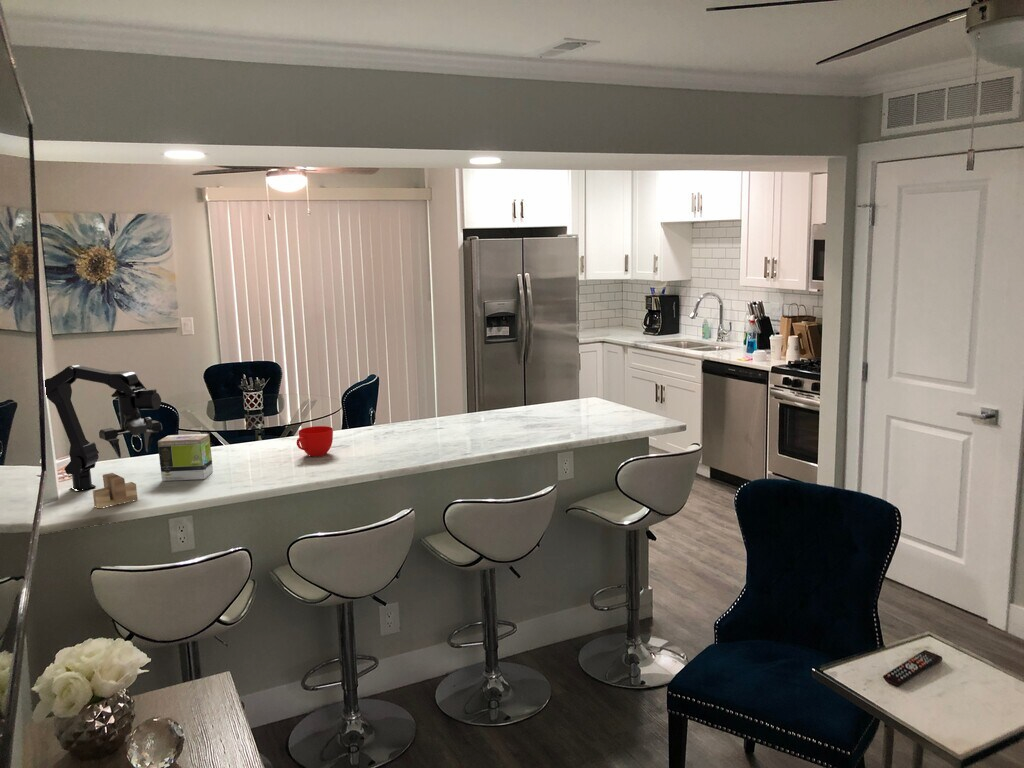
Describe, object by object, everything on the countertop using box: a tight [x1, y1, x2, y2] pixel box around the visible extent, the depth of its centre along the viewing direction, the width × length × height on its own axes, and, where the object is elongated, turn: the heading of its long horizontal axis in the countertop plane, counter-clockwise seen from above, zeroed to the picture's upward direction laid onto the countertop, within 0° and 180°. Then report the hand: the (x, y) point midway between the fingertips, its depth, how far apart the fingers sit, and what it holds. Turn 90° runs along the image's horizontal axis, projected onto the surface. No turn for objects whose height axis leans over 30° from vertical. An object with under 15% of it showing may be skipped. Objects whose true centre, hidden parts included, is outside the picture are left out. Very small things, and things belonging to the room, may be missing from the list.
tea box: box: [157, 433, 214, 482], centre depth 286 cm, size 15×10×15 cm
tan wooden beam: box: [102, 472, 127, 502], centre depth 257 cm, size 10×3×7 cm, turn 46°
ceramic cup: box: [296, 425, 334, 457], centre depth 311 cm, size 13×17×10 cm
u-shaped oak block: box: [92, 481, 139, 509], centre depth 258 cm, size 4×12×6 cm, turn 136°
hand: (133, 454), depth 271 cm, fingers open, 9 cm apart
